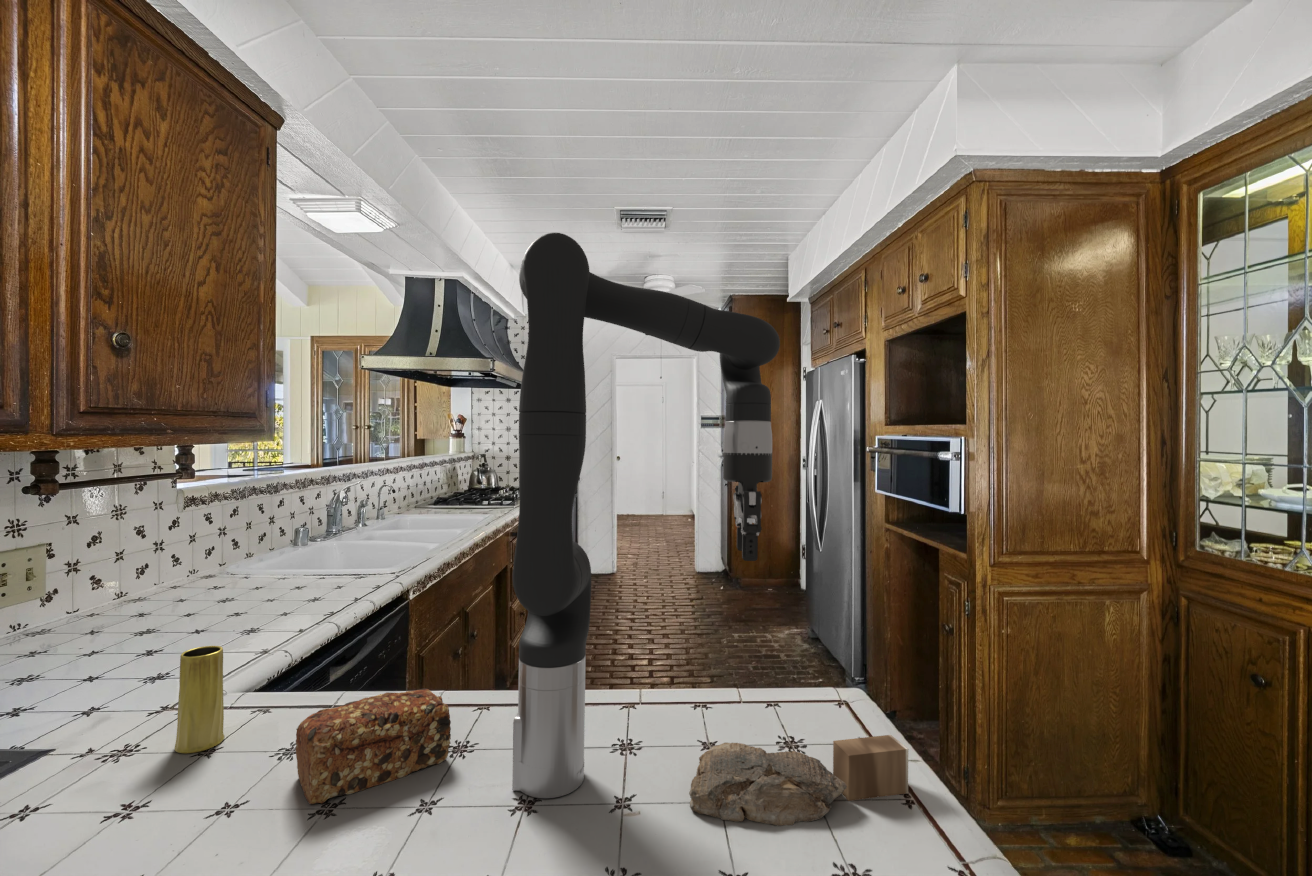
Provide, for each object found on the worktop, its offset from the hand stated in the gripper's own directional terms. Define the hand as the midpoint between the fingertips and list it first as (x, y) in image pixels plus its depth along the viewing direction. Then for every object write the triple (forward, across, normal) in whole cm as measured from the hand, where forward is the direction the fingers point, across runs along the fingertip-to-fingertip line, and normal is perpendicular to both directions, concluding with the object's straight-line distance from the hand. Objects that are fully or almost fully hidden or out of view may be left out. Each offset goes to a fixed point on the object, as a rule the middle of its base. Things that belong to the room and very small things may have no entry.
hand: (746, 555), depth 91 cm
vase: (+30, -4, +84) cm, 89 cm away
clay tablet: (+31, -12, -2) cm, 33 cm away
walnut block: (+27, -10, -12) cm, 31 cm away
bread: (+30, -9, +54) cm, 62 cm away
